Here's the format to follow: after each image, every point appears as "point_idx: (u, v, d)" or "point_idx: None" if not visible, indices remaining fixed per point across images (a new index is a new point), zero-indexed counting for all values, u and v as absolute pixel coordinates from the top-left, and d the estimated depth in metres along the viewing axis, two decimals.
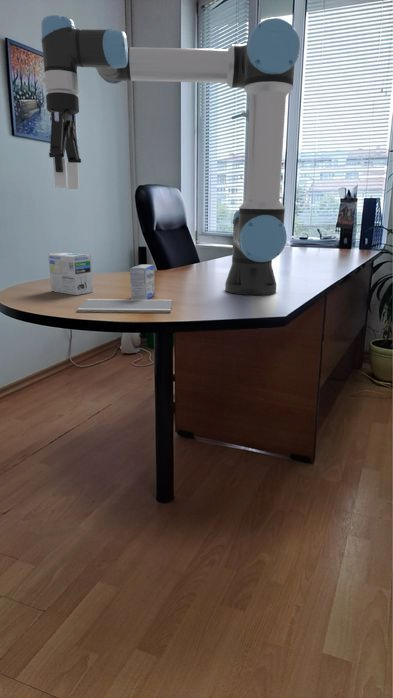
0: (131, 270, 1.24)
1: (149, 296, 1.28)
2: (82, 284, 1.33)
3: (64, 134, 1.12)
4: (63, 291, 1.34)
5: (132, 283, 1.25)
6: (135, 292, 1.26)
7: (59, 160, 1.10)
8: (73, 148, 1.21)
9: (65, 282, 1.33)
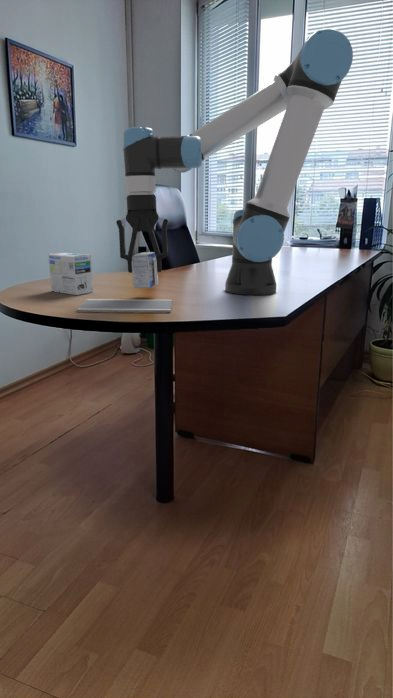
0: (133, 257, 1.23)
1: (152, 283, 1.27)
2: (82, 284, 1.33)
3: None
4: (63, 291, 1.34)
5: (135, 271, 1.24)
6: (138, 280, 1.25)
7: None
8: (152, 244, 1.25)
9: (65, 282, 1.33)
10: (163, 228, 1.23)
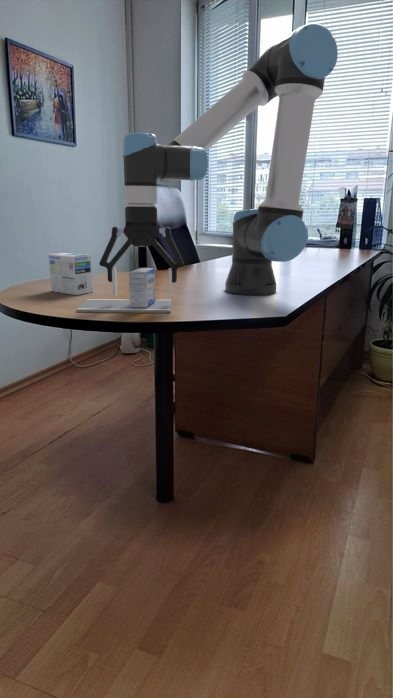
0: (130, 274, 1.13)
1: (150, 303, 1.16)
2: (82, 284, 1.33)
3: (122, 246, 1.13)
4: (63, 291, 1.34)
5: (131, 289, 1.14)
6: (134, 299, 1.14)
7: None
8: None
9: (65, 282, 1.33)
10: (168, 238, 1.12)
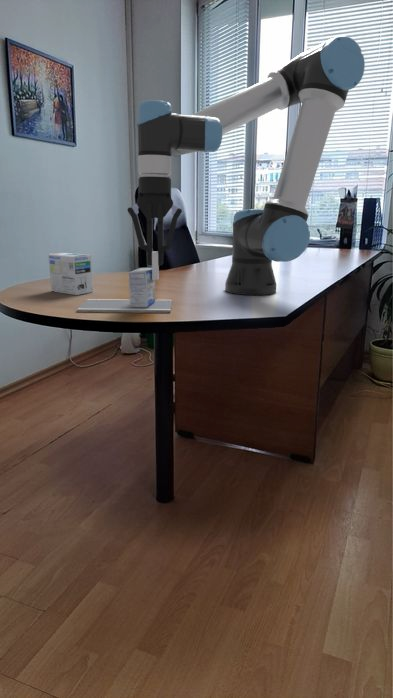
0: (130, 274, 1.13)
1: (150, 303, 1.16)
2: (82, 284, 1.33)
3: (147, 224, 1.12)
4: (63, 291, 1.34)
5: (131, 289, 1.14)
6: (134, 299, 1.14)
7: None
8: None
9: (65, 282, 1.33)
10: (174, 218, 1.11)
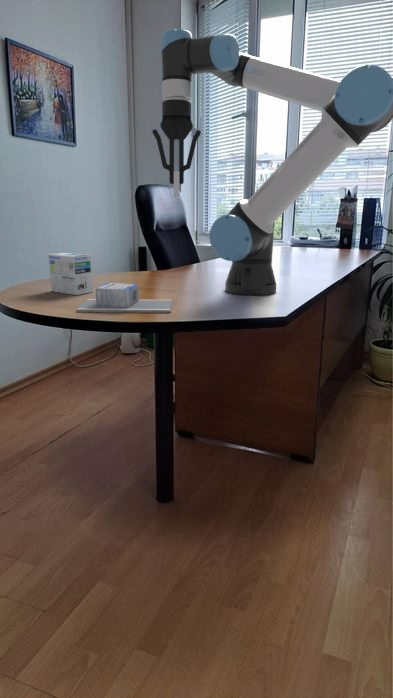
0: (98, 304, 1.16)
1: (129, 287, 1.16)
2: (82, 284, 1.33)
3: None
4: (63, 291, 1.34)
5: (111, 304, 1.15)
6: (121, 302, 1.15)
7: None
8: (179, 153, 1.26)
9: (65, 282, 1.33)
10: (194, 139, 1.25)
